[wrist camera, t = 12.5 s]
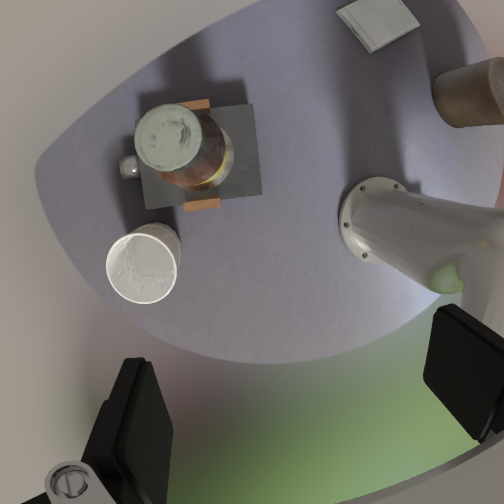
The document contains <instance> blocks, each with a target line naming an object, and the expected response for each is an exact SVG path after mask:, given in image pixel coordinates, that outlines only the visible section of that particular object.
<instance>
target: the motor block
mask: <svg viewBox="0 0 504 504" xmlns="http://www.w3.org/2000/svg"><path fill="white" fill-rule="evenodd" d="M176 104H181V105H184V106H186V107H188V108H189V109H191V110H192V111H198V112H202V113H204V114H206V115H208V116H210V117H211V118H212V119H213V120H214V121H215V122H216V123H217V124H218V126H219V127H220V129H221V131H222V133H223V135H224V139H225V143H226V149H227V160H226V164H225V166H224V168H223V170H222V171H221V173H220V174H219V175H218V176H217V177H216V178H214V179H213V180H211V181H209V182H206V183H202V184H198V185H193V186H182V185H175V184H172V183H169V182H167V181H165V180H164V179H162V178H161V177H159V175H157V173H156V172H155V171H154V170H153V169H152V168H150V167H149V166H147V165H146V164H145V163H144V162H143V161H142V160H141V159H140V158H139V156H138V154H134V155H129V156H124V157H121V158H120V163H119V166H120V173H121V176H122V178H123V180H129V179H134V178H140V177H141V180H142V187H143V194H144V201H145V208H146V210H150V209H157V208H163V207H170V206H177V205H184V211H185V212H187V211H194V210H201V209H209V208H216V207H221V202H220V200H221V199H229V198H237V197H246V196H255V195H262V186H261V176H260V166H259V157H258V148H257V138H256V129H255V120H254V111H253V104H243V105H233V106H223V107H214V108H210V104H209V99H204V100H196V101H189V102H182V103H176ZM139 121H140V119H138V120H135V126H136V127H137V124H138V123H139Z"/></svg>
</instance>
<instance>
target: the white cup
mask: <svg viewBox="0 0 504 504" xmlns="http://www.w3.org/2000/svg"><path fill="white" fill-rule="evenodd" d="M180 254H181V242H180V240H179V238H178V235H177V233H176V232H175V231H174V230H173V229H172V228H170V227H169V226H168V225H166V224H162V223H158V222H155V223H149V224H145V225H144V226H141V227H139V228H137V229H135V230H133V231H131V232H130V233H128V234H127V235H125V236H123V237H121V238H120V239H119V240H117V241H116V242H115V243H114V244H113V246H112V247H111V249H110V251H109V253H108V256H107V261H106V271H107V275H108V278H109V281H110V283H111V285H112V286H113V288H114V289H115V290H116V291H117V292H118V293H119V294H120V295H121V296H122V297H124V298H125V299H127V300H129V301H132V302H135V303H140V304H149V303H154V302H157V301H159V300H161V299H162V298H164V297H165V296H166V295H167V294H168V293H169V292H170V291H171V289H172V288H173V286H174V284H175V281H176V276H177V272H178V267H179V262H180Z"/></svg>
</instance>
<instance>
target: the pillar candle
mask: <svg viewBox="0 0 504 504" xmlns="http://www.w3.org/2000/svg"><path fill="white" fill-rule="evenodd" d="M432 93H433V100H434V103H435V106H436V108H437V111H438V113H439V114H440V116H441V118H442V119H443V120H444V121H445V122H446V123H447V124H449V125H450V126H452V127H455V128H462V127H467V126H469V127H472V126H482V125H500V124H504V58H503V57H495V58H492V59H489V60H485V61H482V62H478V63H475V64H471V65H468V66H464V67H461V68H458V69H455V70H451V71H449V72H446V73H443V74H441V75H439V76H438V77H437V78H436V79H435V81H434V84H433V91H432Z"/></svg>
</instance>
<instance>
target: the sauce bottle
mask: <svg viewBox="0 0 504 504" xmlns="http://www.w3.org/2000/svg"><path fill="white" fill-rule="evenodd" d="M134 145H135V149H136V152H137V154H138V156H139V158H140V159H141V160H142V161H143V162H144V163H145V164H146V165H147V166H149V167H150V168H152V169H153V170H154V171H155V172H156V173H157V175H159V177H161V178H162V179H164V180H165V181H167V182H169V183H172V184H175V185H182V186H193V185H198V184H202V183H206V182H209V181H211V180H213V179H214V178H216V177H217V176H218V175H219V174H220V173H221V171H222V170H223V168H224V166H225V164H226V160H227V149H226V143H225V139H224V135H223V133H222V131H221V129H220V127H219V126H218V124H217V123H216V122H215V121H214V120H213V119H212V118H211V117H210V116H208V115H206V114H204V113H202V112H198V111H192V110H191V109H189V108H188V107H186V106H184V105H181V104H176V103H164V104H161V105H158V106H156V107H154V108H152V109H151V110H149V111H148V112H147V113H146V114H145V115H144V116H143V117H142V118H141V119H140V121H139V123H138V124H137V127H136V130H135V134H134Z"/></svg>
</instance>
